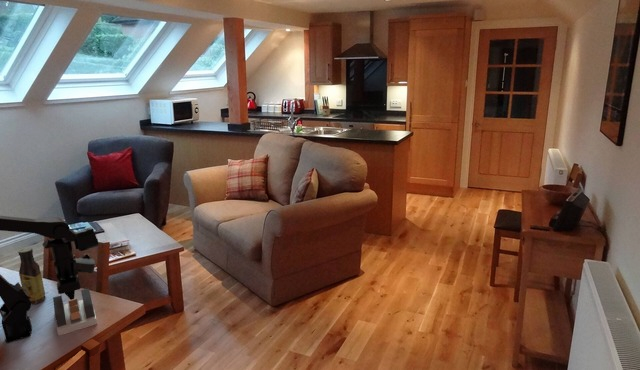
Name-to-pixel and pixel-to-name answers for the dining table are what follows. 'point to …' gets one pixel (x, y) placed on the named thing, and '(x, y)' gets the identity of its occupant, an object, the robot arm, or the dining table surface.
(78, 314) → the paddle near
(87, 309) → the dark gray bar
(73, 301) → the paddle far
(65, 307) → the board
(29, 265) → the sauce bottle
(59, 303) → the dark grey bar
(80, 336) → the dining table surface
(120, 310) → the dining table surface
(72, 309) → the block
